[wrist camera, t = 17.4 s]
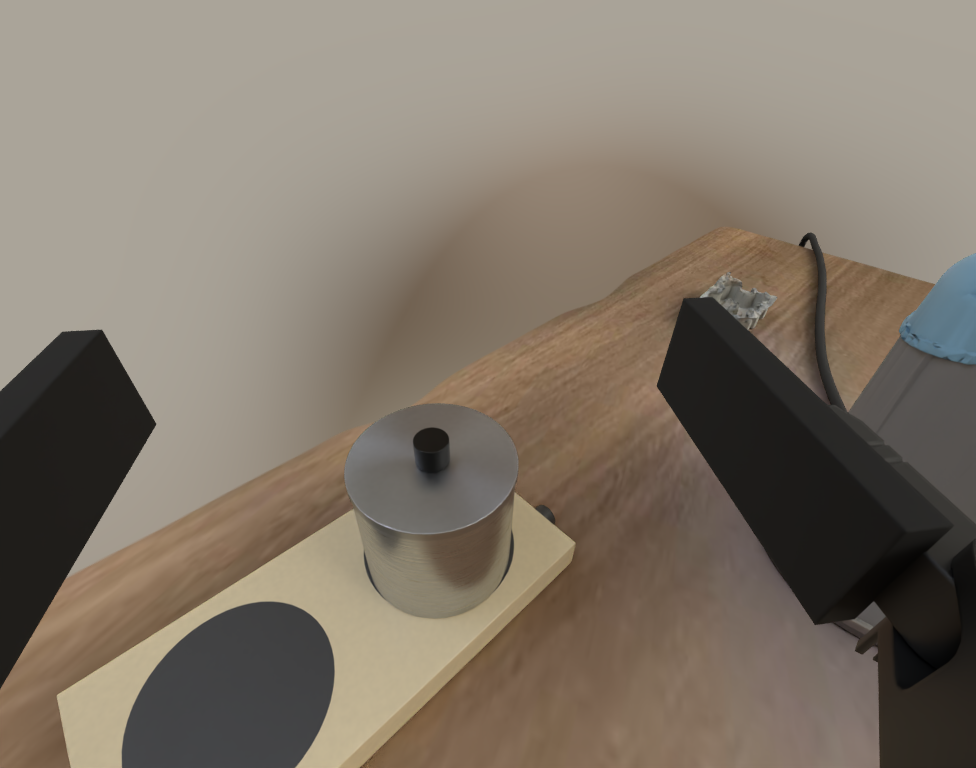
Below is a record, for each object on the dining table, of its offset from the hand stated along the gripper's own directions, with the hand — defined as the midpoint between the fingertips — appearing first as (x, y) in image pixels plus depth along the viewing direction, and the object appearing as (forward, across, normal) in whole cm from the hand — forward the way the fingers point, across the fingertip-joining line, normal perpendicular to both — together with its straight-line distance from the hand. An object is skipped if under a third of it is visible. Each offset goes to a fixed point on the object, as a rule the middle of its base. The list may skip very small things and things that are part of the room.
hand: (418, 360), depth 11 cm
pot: (+9, 0, -22) cm, 24 cm away
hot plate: (+6, -6, -25) cm, 26 cm away
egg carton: (+40, +40, -25) cm, 62 cm away
